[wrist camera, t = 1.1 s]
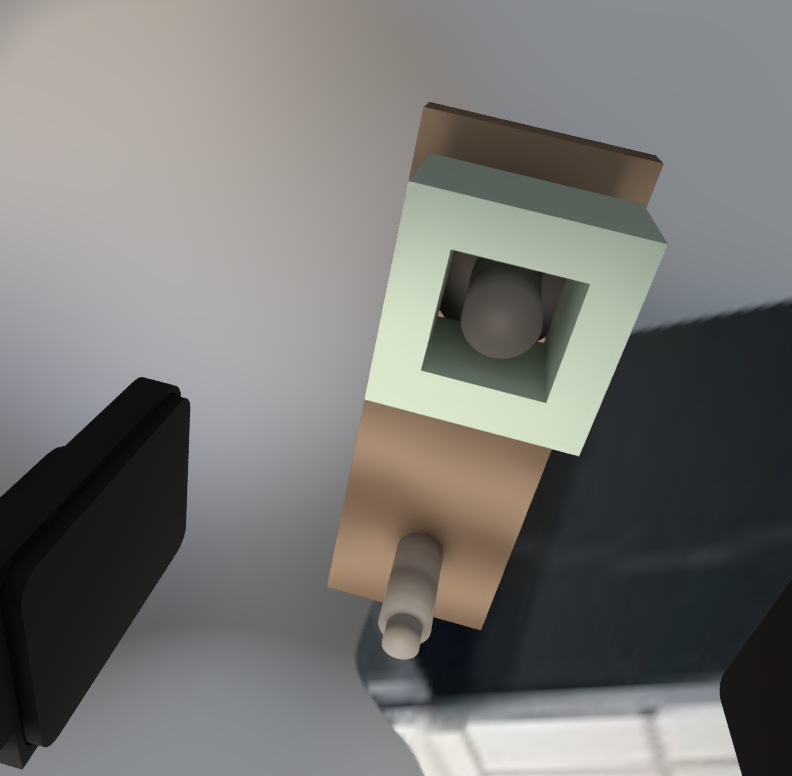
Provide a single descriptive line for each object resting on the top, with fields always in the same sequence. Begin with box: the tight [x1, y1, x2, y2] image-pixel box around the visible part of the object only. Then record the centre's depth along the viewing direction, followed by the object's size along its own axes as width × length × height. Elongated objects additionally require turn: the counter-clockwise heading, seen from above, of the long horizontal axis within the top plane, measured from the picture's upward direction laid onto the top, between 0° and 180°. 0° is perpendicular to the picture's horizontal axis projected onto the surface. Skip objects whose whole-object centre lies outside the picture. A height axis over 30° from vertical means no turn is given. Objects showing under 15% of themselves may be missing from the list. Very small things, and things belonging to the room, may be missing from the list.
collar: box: [365, 153, 668, 456], centre depth 19 cm, size 6×6×4 cm
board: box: [327, 102, 663, 659], centre depth 25 cm, size 23×8×8 cm, turn 169°
